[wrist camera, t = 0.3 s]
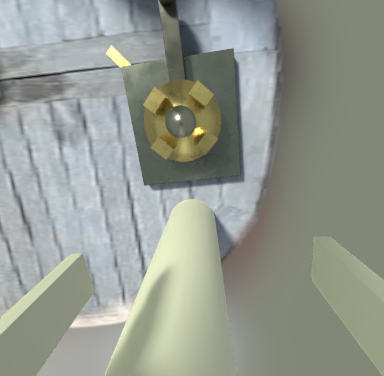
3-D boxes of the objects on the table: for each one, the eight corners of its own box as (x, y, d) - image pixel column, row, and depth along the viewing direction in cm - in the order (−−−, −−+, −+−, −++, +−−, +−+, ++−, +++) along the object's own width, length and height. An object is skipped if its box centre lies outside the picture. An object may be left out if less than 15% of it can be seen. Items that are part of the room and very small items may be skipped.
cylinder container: (171, 197, 38) (72, 387, 9) (217, 201, 38) (262, 411, 9) (168, 238, 41) (86, 486, 12) (212, 242, 41) (235, 508, 12)
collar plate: (105, 47, 32) (98, 41, 30) (230, 25, 30) (231, 17, 28) (133, 184, 38) (129, 187, 36) (238, 173, 36) (240, 175, 34)
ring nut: (128, 4, 28) (111, -26, 23) (209, -12, 27) (210, -46, 22) (155, 163, 34) (147, 168, 29) (222, 155, 33) (225, 159, 28)
